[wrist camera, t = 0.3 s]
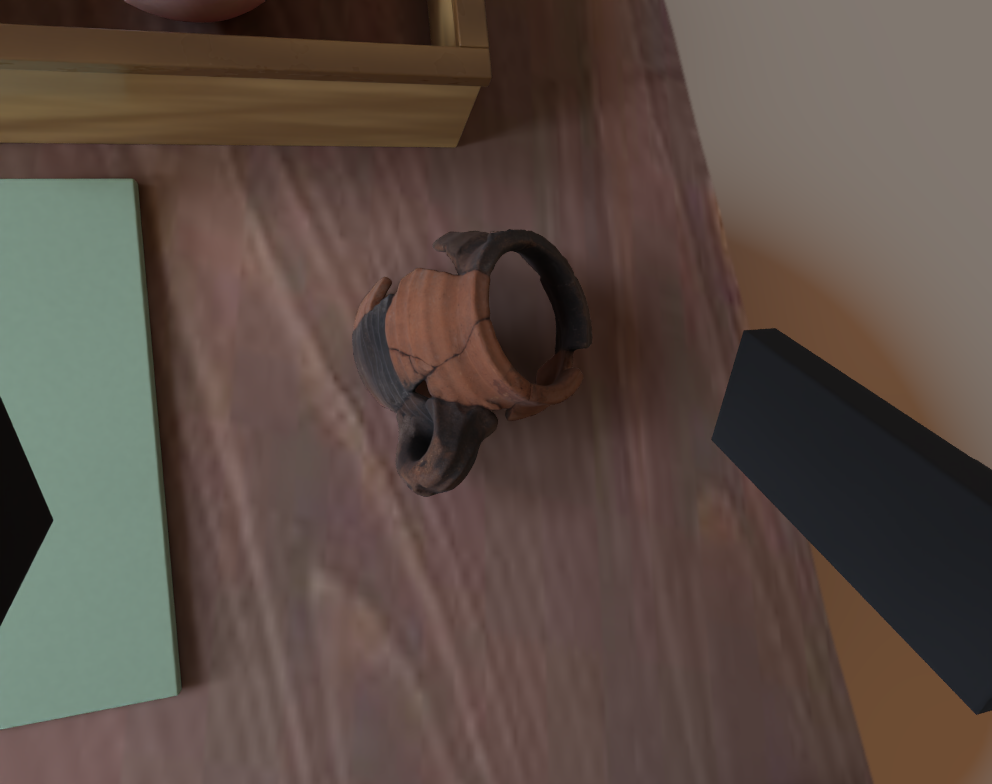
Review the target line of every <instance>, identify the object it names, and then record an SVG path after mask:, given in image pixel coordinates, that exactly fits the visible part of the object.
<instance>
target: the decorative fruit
mask: <svg viewBox="0 0 992 784" xmlns="http://www.w3.org/2000/svg"><path fill="white" fill-rule="evenodd" d="M123 1H125V2H126V3H128V4H130V5H132V6H134V7H136V8H138V9H140V10H143V11H145V12H148V13H151V14H154V15H157V16H160V17H164V18H168V19H172V20H178V21H185V22H204V23H206V22H217V21H223V20H227V19H231V18H234V17H237V16H239V15H242V14H244V13H247V12H249V11H251V10H252V9H254V8H256V7H257V6H259V5H260V4H262V3H263V2H265V1H266V0H123Z"/></svg>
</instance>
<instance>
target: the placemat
mask: <svg viewBox="0 0 992 784" xmlns="http://www.w3.org/2000/svg"><path fill="white" fill-rule="evenodd" d="M0 397H1V399H2V401H3V403H4V406H5V408H6V410H7V413H8V415H9V417H10V420H11V422H12V424H13V427H14V429H15V431H16V434H17V436H18V438H19V441H20V443H21V445H22V448H23V450H24V452H25V455H26V457H27V459H28V462H29V464H30V466H31V469H32V471H33V473H34V476H35V478H36V480H37V483H38V485H39V487H40V490H41V492H42V494H43V496H44V499H45V501H46V503H47V506H48V508H49V510H50V513H51V515H52V517H53V522H52V524H51V526H50V528H49V530H48V532H47V534H46V536H45V538H44V540H43V542H42V544H41V546H40V548H39V550H38V552H37V554H36V556H35V558H34V560H33V562H32V564H31V566H30V568H29V570H28V572H27V574H26V576H25V578H24V580H23V582H22V584H21V586H20V588H19V590H18V592H17V594H16V596H15V598H14V600H13V602H12V604H11V606H10V608H9V610H8V612H7V614H6V616H5V618H4V620H3V622H2V624H1V626H0V730H1V729H6V728H11V727H16V726H22V725H27V724H32V723H37V722H42V721H48V720H53V719H58V718H63V717H68V716H73V715H79V714H84V713H89V712H94V711H99V710H105V709H110V708H115V707H120V706H125V705H130V704H136V703H141V702H146V701H151V700H156V699H162V698H167V697H172V696H177V695H178V694H179V693H180V691H181V689H182V687H181V676H180V664H179V653H178V641H177V630H176V618H175V607H174V595H173V583H172V572H171V560H170V549H169V537H168V526H167V514H166V503H165V491H164V480H163V468H162V457H161V445H160V433H159V422H158V410H157V399H156V387H155V376H154V364H153V353H152V341H151V330H150V318H149V307H148V295H147V283H146V272H145V260H144V249H143V237H142V226H141V214H140V203H139V191H138V184H137V182H136V181H135V180H134V179H0Z"/></svg>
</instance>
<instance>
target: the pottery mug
mask: <svg viewBox="0 0 992 784" xmlns="http://www.w3.org/2000/svg"><path fill="white" fill-rule="evenodd" d="M433 248H434V249H435V250H436V251H440V252H446V253H447V256H448V257H449V258H450V259H451V260H452V262H453V263H454V265H455V268H456V271H457V273H458V275H452V274H450V273H447V272H438V271H436V270H430V269H423V268H416V269H415V270H414V271H413V272H411V273H409V274H407V275H406V276H405V277H403V278H402V279H401V281H400V284H399V286H398V290H397V292H396V294H395V295H394V294H389V295H388V296H387V297H385V295H386V293H387V291H388V290H389V288H390V286H391V284H392V281H391V280H390V279H389V278H387V277H383V278H381V279H380V280H379V281H378V282H377V283H376V284H375V285H374V287H373V288H372V290H371V291H370V292H369V293H368V294H367V295H366V296H365V298H364V299H363V301H362V303H361V304H360V307H359V309H358V312H357V314H356V318H355V322H354V331H353V335H352V339H353V340H352V342H353V355H354V359H355V362H356V366H357V369H358V372H359V375H360V377H361V379H362V382H363V383H364V385H365V387H366V388H367V389H368V390H369V391H370V393H371V394H372V396H373V397H374V398H375V399H376V400H377V401H378V402H379V403H380V404H381V405H382V406H383V407H384V408H388V409H390V410H391V411H394V412H395V413H397V416H396V417H397V421H398V426H399V442H398V445H397V451H396V468H397V472H398V474H399V475H400V476H401V478H402V479H403V480H404V482H405V483H406V484H407V486H408V487H409V488H410V489H411V490H413V491H414V492H415V493H416V494H418V495H421V496H423V497H428V496H432V495H435V494H438V493H443V492H447V491H449V490H452V489H454V488H455V487H457V486H458V485H459V484H460V483H461V482H462V481H463V480H464V479H465V477H466V476H467V474H468V473H469V471H470V469H471V468H472V466H473V464H474V462H475V459H476V457H477V453H478V449H479V446H480V444H481V442H482V441H483V440H484V439H485V438H486V437H488V436H489V435H491V434H492V433H493V432H494V431H495V430H496V428H497V425H498V419H497V417H496V415H495V414H494V413H493V412H491V410H500V409H502V408H507V410H506V414H505V417H506V419H507V420H508V421H514V420H518V419H523V418H526V417H529V416H533V415H536V414H537V413H540V412H541V411H543V410H544V409H546V408H547V407H548V406H550V405H555V404H558V403H561V402H563V401H564V400H566V399H568V398H569V397H570V396H572V395H573V394H574V393H575V391H576V390H577V389H578V387H579V386H580V384H581V382H582V380H583V374H582V373H581V371H580V369H578V368H575V367H574V368H572V363H573V353H574V351H575V350H577V349H583V348H588V347H589V346H590V345H591V344H592V327H591V320H590V314H589V309H588V305H587V302H586V298H585V295H584V292H583V290H582V287H581V285H580V283H579V281H578V279H577V278H576V277H575V276H574V272H573V270H572V268H571V266H570V265H569V263H568V261H567V259H566V258H564V257H563V256H562V255H561V253H560V252H559V251H558V249H557V248H556V247H555V246H554V245H553V244H552V243H550V242H549V241H548V240H546V238H544V237H543V236H541V235H539V234H536V233H534V232H533V231H526V230H510V229H509V230H507V231H500V232H499V231H497V232H494V231H491V232H490V233H487V232H480V231H469V232H464V233H459V232H449V233H447V234H445V235H443V236H442V237H440V238H439V239H437V240H436V241H435V242H434V243H433ZM509 251H514V252H517V253H519V254H520V255H521V256H522V258H524V259H525V261H526V262H527V263H528V264H529V265H530V266H531V267H532V268H533V269H534V270H535V271H536V272H537V273H538V274H539V275H540V277H541V278H540V281H541V283H542V285H543V288H544V290H545V291H546V293H547V295H548V298H549V300H550V302H551V304H552V307H553V310H554V313H555V320H556V346H555V355H554V356H553V357H552V358H551V359H550V360H548V361H547V362H546V363H545V364H544V365H542V366H541V367H540V368H539V369H538V372H537V378H536V384H534V383H530V382H528V381H527V380H526V379H525V378H524V377H522V376H521V375H520V374H519V373H518V372H517V370H516V369H515V368H514V367H513V366H512V365H511V363H510V362H509V360H508V359H507V357H506V356H505V354H504V352H503V351H502V349H501V347H500V344H499V342H498V340H497V338H496V335H495V332H494V329H493V325H492V322H491V320H490V309H489V285H490V274H491V272H492V270H493V269H494V266H495V264H496V262H497V261H498V259H499V258H500V257H501V256H502V255H503V254H505V253H506V252H509ZM384 297H385V298H384ZM424 380H425V381H426V382H427V387H428V391H429V393H430V394H431V395H432V398H428V397H426V396H423V395H421V394H419V393H417V392H415V389H416V388H417V386H418V385H419V384H420V383H421V382H422V381H424Z"/></svg>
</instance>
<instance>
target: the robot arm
mask: <svg viewBox="0 0 992 784" xmlns="http://www.w3.org/2000/svg"><path fill="white" fill-rule="evenodd" d="M712 441H713V442H714V443H715V444H716V445H717V446H718V447H719V448H720V449H721V450H722V451H723V452H724V453H725V454H726V455H727V456H728V457H729V459H730V460H731V461H732V462H733V463H734V464H735V465H736V466H737V467H738V468H739V469H740V470H741V471H742V472H743V473H744V474H745V475H746V476H747V477H748V478H749V479H750V480H751V481H752V482H753V483H754V484H755V486H756V487H757V488H758V489H759V490H760V491H761V492H762V493H763V494H764V495H765V496H766V497H767V498H768V499H769V500H770V501H771V502H772V503H773V504H774V505H775V506H776V507H777V508H778V509H779V510H780V511H781V513H782V514H783V515H784V516H785V517H786V518H787V519H788V520H789V521H790V522H791V523H792V524H793V525H794V526H795V527H796V528H797V529H798V530H799V531H800V532H801V533H802V534H803V535H804V536H805V537H806V538H807V539H808V541H809V542H810V543H811V544H812V545H813V546H814V547H815V548H816V549H817V550H818V551H819V552H820V553H821V554H822V555H823V556H824V557H825V558H826V559H827V560H828V561H829V562H830V563H831V564H832V565H833V566H834V567H835V569H836V570H837V571H838V572H839V573H840V574H841V575H842V576H843V577H844V578H845V579H846V580H847V581H848V582H849V583H850V584H851V585H852V586H853V587H854V588H855V589H856V590H857V591H858V592H859V593H860V595H862V597H863V598H864V599H865V600H866V601H867V602H868V603H869V604H870V605H871V606H872V607H873V608H874V609H875V610H876V611H877V612H878V613H879V614H880V615H881V616H882V617H883V618H884V619H885V620H886V622H887V623H888V624H889V625H891V626H892V628H893V629H894V630H895V631H896V632H897V633H898V634H899V635H900V636H901V637H902V638H903V639H904V640H905V641H906V642H907V643H908V644H909V645H910V646H911V647H912V648H913V650H914V651H915V652H916V653H917V654H918V655H919V656H920V657H921V658H922V659H923V660H924V661H925V662H926V663H927V664H928V665H929V666H930V667H931V668H932V669H933V670H934V671H935V672H936V673H937V674H938V676H939V677H940V678H941V679H943V681H944V682H945V683H946V684H947V685H948V686H949V687H950V688H951V689H952V690H953V691H954V692H955V693H956V694H957V695H958V696H959V697H960V698H961V699H962V700H963V701H964V703H965V704H966V705H967V706H968V707H969V708H970V709H971V710H972V711H973V712H974V713H975V714H976V715H977V714H981V713H984V712H987V711H991V710H992V470H991V469H990V468H988V467H987V466H985V465H984V464H982V463H980V462H979V461H977V460H975V459H973V458H971V457H970V456H968V455H967V454H965V453H964V452H962V451H960V450H959V449H957V448H956V447H954V446H953V445H951V444H950V443H948V442H947V441H945V440H944V439H942V438H941V437H939V436H938V435H936V434H935V433H933V432H932V431H930V430H929V429H927V428H926V427H924V426H923V425H921V424H920V423H918V422H917V421H915V420H913V419H912V418H911V417H909V416H908V415H906V414H904V413H903V412H901V411H900V410H898V409H897V408H895V407H894V406H892V405H891V404H889V403H888V402H886V401H885V400H883V399H882V398H880V397H878V396H877V395H876V394H874V393H873V392H871V391H870V390H868V389H867V388H865V387H864V386H862V385H861V384H859V383H857V382H856V381H854V380H853V379H851V378H850V377H848V376H847V375H845V374H844V373H842V372H841V371H839V370H838V369H836V368H835V367H833V366H832V365H830V364H829V363H827V362H826V361H824V360H823V359H821V358H820V357H818V356H816V355H815V354H813V353H812V352H811V351H809V350H807V349H806V348H804V347H803V346H801V345H800V344H798V343H797V342H795V341H794V340H792V339H791V338H789V337H788V336H786V335H785V334H783V333H782V332H780V331H779V330H777V329H775V328H773V329H758V330H744V331H743V335H742V338H741V342H740V345H739V348H738V352H737V355H736V358H735V362H734V365H733V369H732V372H731V375H730V379H729V382H728V386H727V389H726V392H725V396H724V399H723V402H722V406H721V409H720V413H719V416H718V419H717V423H716V426H715V429H714V433H713V436H712ZM52 522H53V517H52V515H51V513H50V510H49V508H48V506H47V503H46V501H45V499H44V496H43V494H42V492H41V490H40V487H39V485H38V483H37V480H36V478H35V476H34V473H33V471H32V469H31V466H30V464H29V462H28V459H27V457H26V455H25V452H24V450H23V448H22V445H21V443H20V441H19V438H18V436H17V434H16V431H15V429H14V427H13V424H12V422H11V420H10V417H9V415H8V413H7V410H6V408H5V406H4V403H3V401H2V399H1V397H0V626H1V624H2V622H3V620H4V618H5V616H6V614H7V612H8V610H9V608H10V606H11V604H12V602H13V600H14V598H15V596H16V594H17V592H18V590H19V588H20V586H21V584H22V582H23V580H24V578H25V576H26V574H27V572H28V570H29V568H30V566H31V564H32V562H33V560H34V558H35V556H36V554H37V552H38V550H39V548H40V546H41V544H42V542H43V540H44V538H45V536H46V534H47V532H48V530H49V528H50V526H51V524H52Z"/></svg>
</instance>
